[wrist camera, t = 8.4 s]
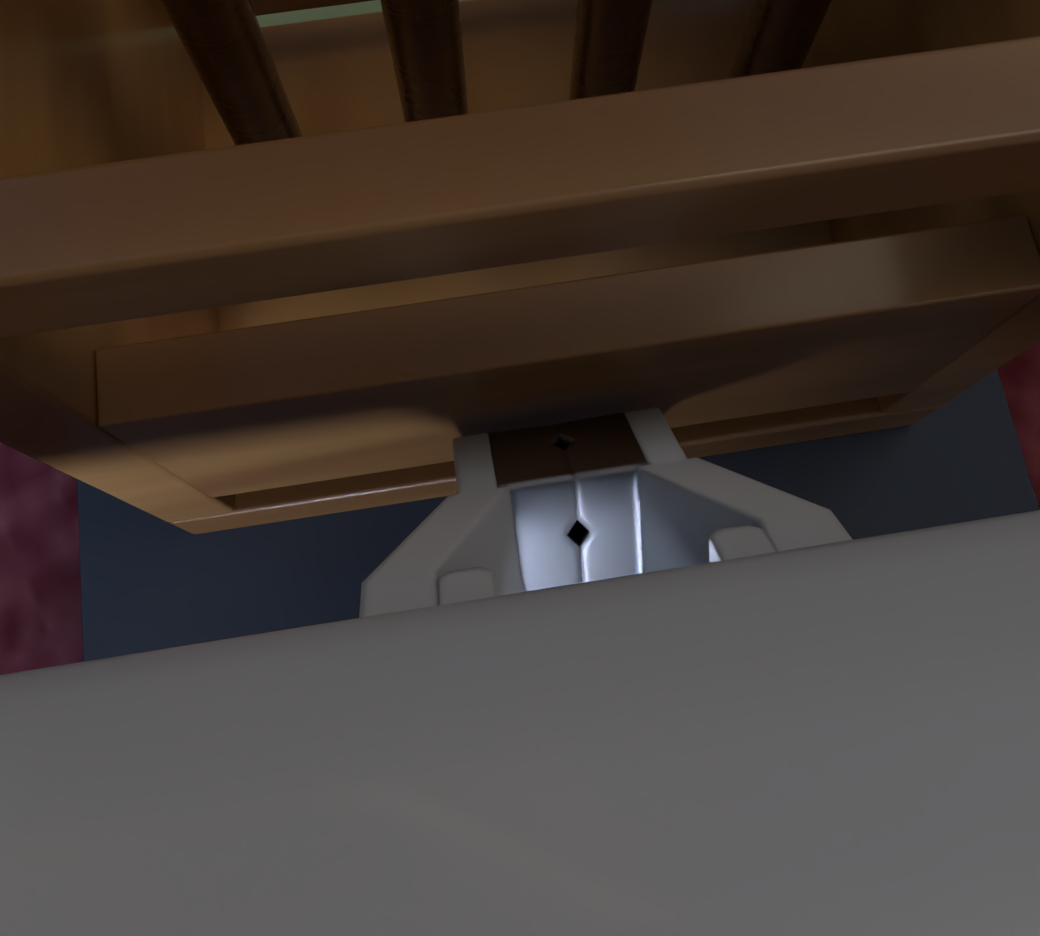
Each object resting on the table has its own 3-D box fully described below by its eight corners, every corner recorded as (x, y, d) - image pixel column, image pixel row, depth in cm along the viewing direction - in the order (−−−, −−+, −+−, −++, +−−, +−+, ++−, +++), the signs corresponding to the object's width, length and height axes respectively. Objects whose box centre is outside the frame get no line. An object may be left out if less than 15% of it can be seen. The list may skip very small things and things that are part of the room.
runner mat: (1104, 767, 16) (1119, 769, 16) (102, 934, 15) (91, 940, 15) (801, -249, 22) (806, -266, 21) (62, -161, 21) (53, -177, 21)
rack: (916, 425, 17) (1430, 83, 8) (192, 536, 17) (-264, 321, 7) (797, -4, 20) (1070, -685, 10) (160, 80, 19) (-212, -552, 9)
